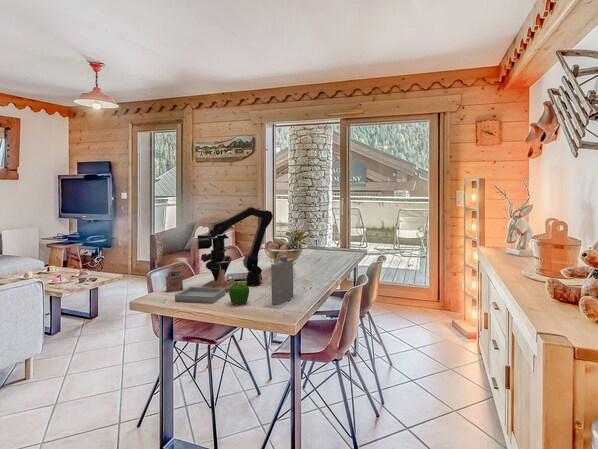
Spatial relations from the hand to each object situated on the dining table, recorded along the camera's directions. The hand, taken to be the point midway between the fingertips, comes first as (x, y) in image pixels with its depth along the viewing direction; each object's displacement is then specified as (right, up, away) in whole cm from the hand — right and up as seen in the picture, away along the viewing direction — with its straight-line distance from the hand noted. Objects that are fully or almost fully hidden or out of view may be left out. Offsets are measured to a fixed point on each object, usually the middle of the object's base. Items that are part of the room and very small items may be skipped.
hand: (219, 278), depth 181 cm
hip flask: (+33, -7, -20) cm, 39 cm away
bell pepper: (+14, -7, -24) cm, 29 cm away
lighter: (-21, -6, -4) cm, 22 cm away
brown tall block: (0, -5, 0) cm, 5 cm away
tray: (-5, -6, -16) cm, 18 cm away
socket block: (0, -5, 0) cm, 5 cm away
